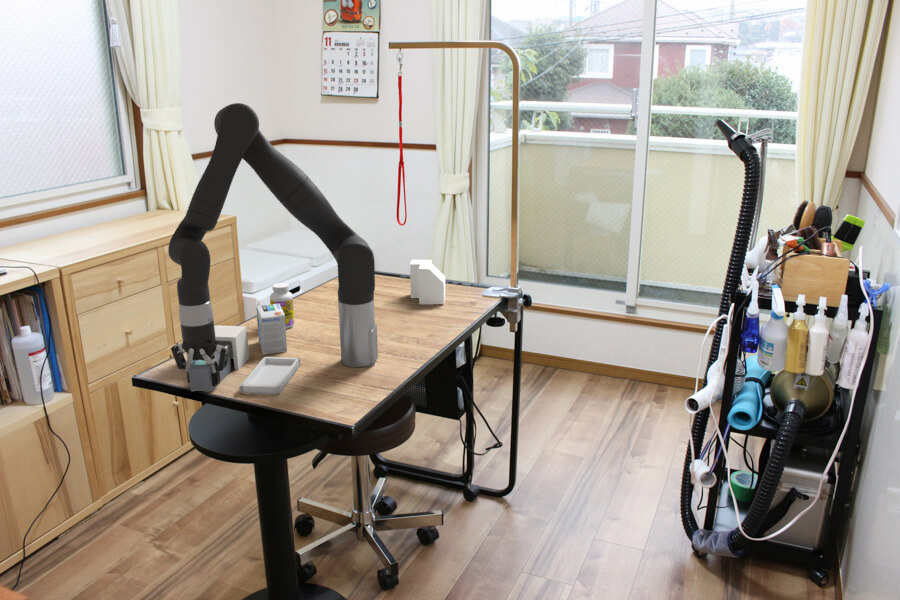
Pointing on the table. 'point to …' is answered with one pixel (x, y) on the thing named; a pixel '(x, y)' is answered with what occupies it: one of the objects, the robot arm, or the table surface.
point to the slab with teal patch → (205, 374)
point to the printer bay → (233, 342)
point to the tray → (270, 375)
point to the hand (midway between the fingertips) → (204, 384)
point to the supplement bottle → (284, 302)
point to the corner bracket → (427, 282)
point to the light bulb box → (271, 328)
